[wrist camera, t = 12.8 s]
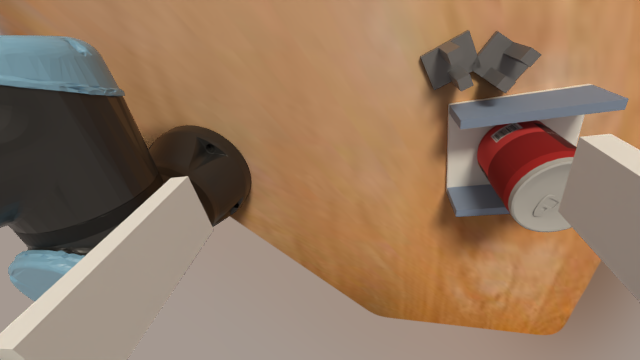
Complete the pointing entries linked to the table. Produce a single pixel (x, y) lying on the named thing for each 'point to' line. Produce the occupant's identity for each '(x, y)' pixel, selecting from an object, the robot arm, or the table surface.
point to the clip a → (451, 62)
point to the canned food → (528, 172)
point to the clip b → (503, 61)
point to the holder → (483, 114)
